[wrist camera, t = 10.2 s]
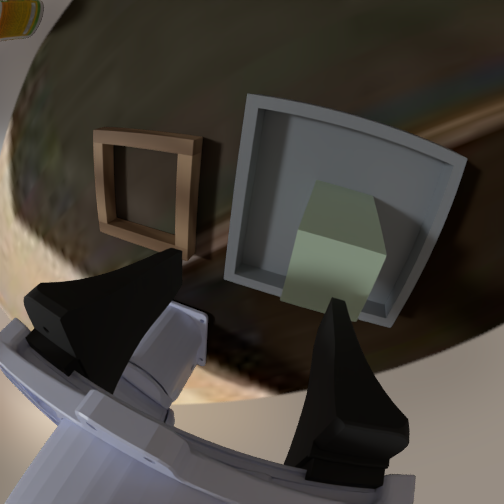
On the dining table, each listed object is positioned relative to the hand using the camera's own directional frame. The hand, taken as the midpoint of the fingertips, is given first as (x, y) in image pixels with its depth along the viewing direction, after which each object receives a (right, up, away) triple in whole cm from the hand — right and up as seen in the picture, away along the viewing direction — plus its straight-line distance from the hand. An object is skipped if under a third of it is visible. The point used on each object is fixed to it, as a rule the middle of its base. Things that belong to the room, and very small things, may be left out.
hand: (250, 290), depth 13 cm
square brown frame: (-9, +7, +11) cm, 16 cm away
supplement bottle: (-26, +30, +4) cm, 40 cm away
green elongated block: (+6, +4, +6) cm, 10 cm away
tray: (+6, +5, +7) cm, 10 cm away
